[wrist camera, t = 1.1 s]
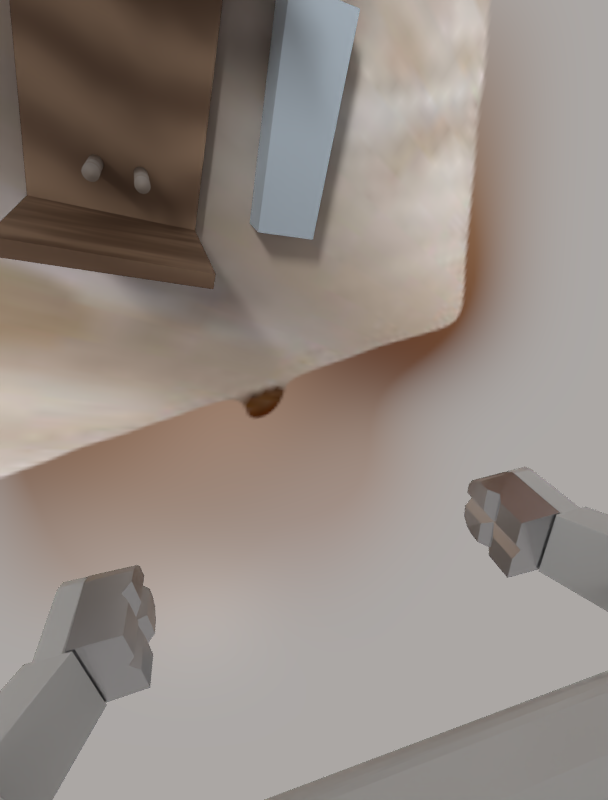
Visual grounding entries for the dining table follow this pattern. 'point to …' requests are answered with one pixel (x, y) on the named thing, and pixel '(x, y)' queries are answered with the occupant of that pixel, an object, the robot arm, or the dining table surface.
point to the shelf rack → (113, 135)
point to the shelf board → (300, 112)
